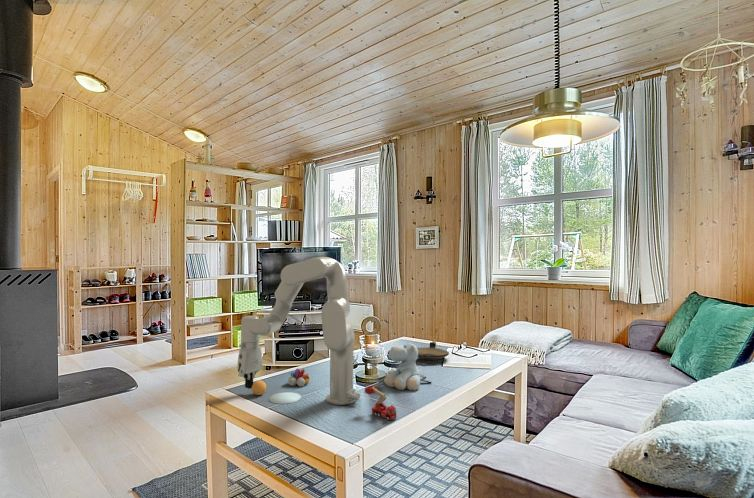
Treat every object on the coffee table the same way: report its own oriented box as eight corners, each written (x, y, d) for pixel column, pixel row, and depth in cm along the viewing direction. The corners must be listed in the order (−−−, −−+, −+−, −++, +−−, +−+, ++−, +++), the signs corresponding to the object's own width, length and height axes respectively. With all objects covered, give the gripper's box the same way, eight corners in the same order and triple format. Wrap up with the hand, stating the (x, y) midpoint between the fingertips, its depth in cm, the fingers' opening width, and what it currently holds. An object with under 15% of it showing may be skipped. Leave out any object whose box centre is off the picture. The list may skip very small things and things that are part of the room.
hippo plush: (380, 380, 198) (380, 341, 198) (426, 377, 202) (426, 339, 202) (388, 393, 180) (388, 350, 180) (438, 389, 184) (438, 348, 184)
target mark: (307, 396, 175) (307, 395, 175) (285, 406, 164) (285, 405, 164) (284, 390, 182) (284, 390, 182) (262, 399, 171) (262, 399, 171)
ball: (258, 389, 182) (268, 394, 179) (247, 394, 176) (257, 399, 174) (259, 376, 181) (270, 381, 178) (249, 380, 176) (259, 385, 173)
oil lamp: (400, 360, 233) (400, 347, 233) (428, 350, 256) (428, 338, 256) (435, 367, 219) (435, 353, 219) (461, 356, 243) (461, 343, 243)
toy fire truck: (392, 421, 150) (392, 395, 150) (364, 411, 159) (364, 386, 159) (397, 419, 152) (397, 392, 152) (370, 409, 162) (370, 384, 162)
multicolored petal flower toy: (305, 388, 186) (305, 372, 186) (285, 386, 188) (285, 370, 188) (312, 382, 195) (312, 366, 195) (292, 381, 197) (292, 365, 197)
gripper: (241, 349, 170) (240, 394, 170) (269, 343, 183) (268, 384, 183) (229, 347, 174) (228, 390, 174) (257, 340, 187) (256, 381, 187)
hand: (248, 387), depth 178 cm, fingers closed
